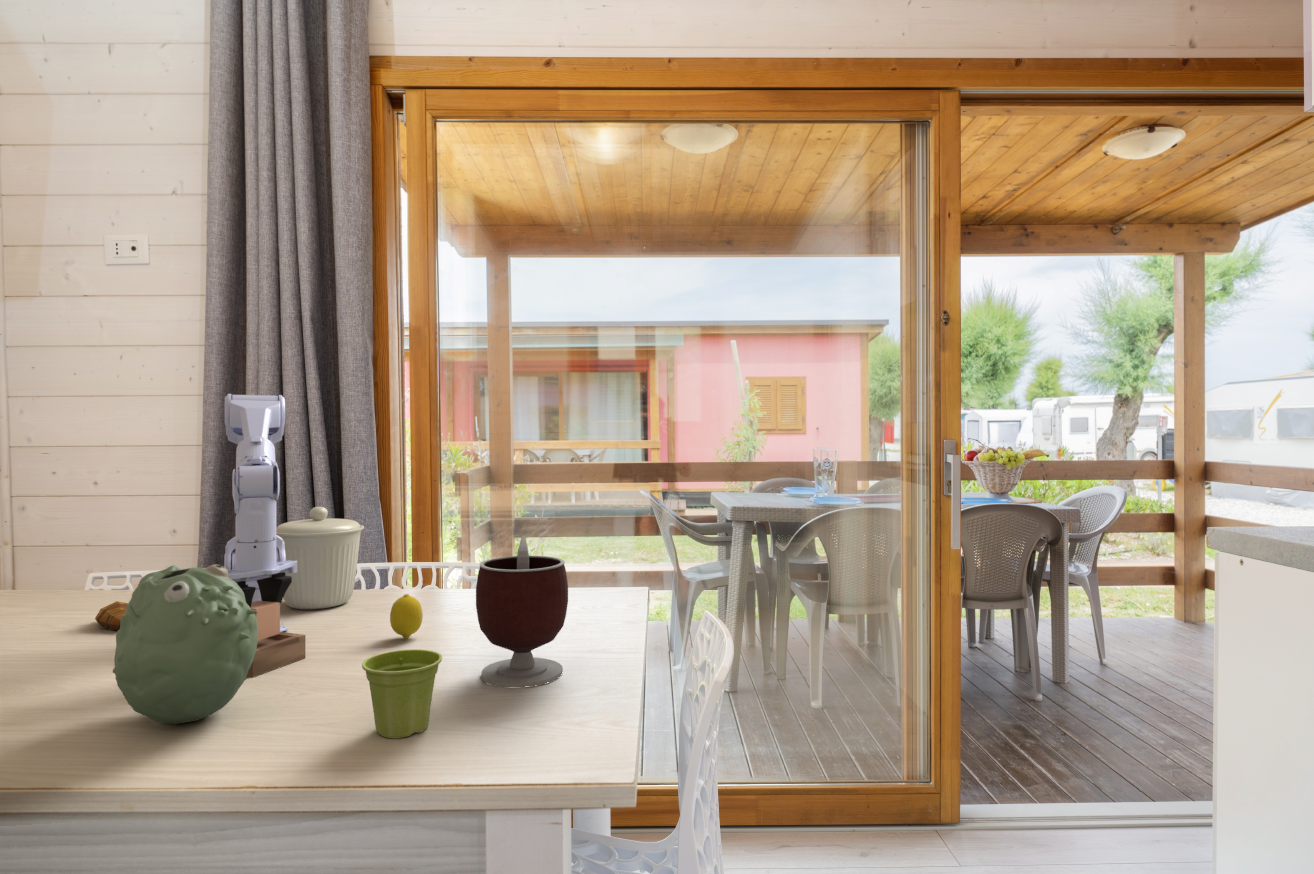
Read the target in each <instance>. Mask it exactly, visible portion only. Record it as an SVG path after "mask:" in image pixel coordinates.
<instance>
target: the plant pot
mask: <svg viewBox="0 0 1314 874" xmlns="http://www.w3.org/2000/svg"><path fill="white" fill-rule="evenodd" d="M442 660H443V656H442V653H439V652H437V651H434V650H429V649H414V648H413V649H411V648H410V649H398V650H391V651H386V652H380V653H377V654H375V655H372V656H369V657H367V658H365V659H364V660H363V661H362V663H361V667H362V669H363V670H364V671H365V674H366V676H365V677H366V680H368V683H369V689H370V698H371V704H372V712H373V716H374V724H375V725H374V726H375V732H376V734H380V735H381V736H382V737H383V738H388V739H396V738H397V739H398V738H399V739H401V738H407V737H410V736H411V735H412V734H414V733H421V732H423V731H425V730H427V728H428V726H429V722H430V714H431V707H432V699H433V692H434V687H435V679H436V675H437V673H438V671H439V665H440V663H441V662H442Z"/></svg>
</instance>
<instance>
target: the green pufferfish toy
mask: <svg viewBox="0 0 1314 874" xmlns="http://www.w3.org/2000/svg"><path fill="white" fill-rule="evenodd" d="M127 603H128V605H127V608H126V612H125V615H124V616H123V617H122V618H121V622H120V630H118V631H115V632H116V633H115V643H116V645H115V653H114V660H113V661H114V668H113V669H112V673H113V674H114V676H115V680H116V684H117V686H118V689H119V690H120V692H121V693H122V695H123V697H124V699H125V701H126V702H127V704H128V705H129V706H130V707H131V709H132V710H133V711H134V712H135V713H137V714H140V715H142V716H144V717H146V718H148V719H150V720H153V721H155V722H158V723H160V724H167V725H179V724H184V723H190V722H195V721H199V720H202V719H204V718H205V719H206V718H208V717H210V716H212V715H214V714H215V713H217V712H218V711H220V710H221V709H223V708H224V707H226V706H227V704H229V703H230V701H231V700H232V699H233V698H234V697H235V696H236V694H237V693H238V690H240V688H241V687H242V685H243V684H244V682H245V680H246V678H247V677H248V676H247V673H248V670H249V668H250V666H251V664H252V662H253V659H254V656H255V653H256V649H257V642H258V637H257V633H258V623H257V619H256V616H255V613H258V612H257V611H255V610H252V609H251V608H250V607H249V605H248V604H247V603H246V600H245V595H244V592H243V591H242V589H241V588H240V587H239V586H238V584H237V583H236V582H235V581H233V580H231V579H230V578H229V577H228V571H227V569H226V568H225V567H224V565H222V564H217V563H216V564H211V565H209V566H207V567H189V568H183V569H182V568H180V567H179V566H177V565H170V566H169V567H167V568H165V569H162V570H159V571H153V572H149V573H148V574H146V575H144V576H143V577H142V578H141V579H140V580H139V583H138V584H137V586H136V588H135V589H134V590H133V592H132V594H131V598H130V600H129V601H128V602H127Z"/></svg>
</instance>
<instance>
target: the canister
mask: <svg viewBox="0 0 1314 874" xmlns="http://www.w3.org/2000/svg"><path fill="white" fill-rule="evenodd" d="M328 513H329V510H328V509H327V508H325V507H323V506H314V507H313V508H311V509H310V511H309V517H310V518H309V519H299V520H293V521H287V522H283V523H281V524H279V525H278V526H276V535H278V536H279V537H281V538H282V539H283V541H284V546H285V555H286V561H288V560H291V561H297V572H296V573H287V574H286V575H285V576H291V577H292V583H291V584H290V585H289V587H288V589H287V591H286V593H285V595H284V597H283V601H284V602H285V604H286V605H287V606H288V607H290V608H291V609H292V608H293V609H298V610H319V609H320V610H321V609H328V608H333V607H338V606H341V605H343V604H346V603H348V601H349V600H350V599H351V598H352V596H353V593H354V588H355V582H356V576H357V575H356V574H357V567H358V559H359V550H360V541H361V533H362V531H363V530H364V529H365V526H364V525H362V524H359V522H358V521H356V520H354V519H347V518H333V517H331V518H327V517H328Z"/></svg>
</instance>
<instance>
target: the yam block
mask: <svg viewBox="0 0 1314 874" xmlns="http://www.w3.org/2000/svg"><path fill="white" fill-rule="evenodd" d="M251 609H252V610H255V611H257V612H258V613H255V616H256V619H257V623H258V633H257V637H258V640H262V639H265V638H268V637H271V636H274V635H277V634H280V626H281V605H280V603H278V602H268V601H255V602H252V604H251Z"/></svg>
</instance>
